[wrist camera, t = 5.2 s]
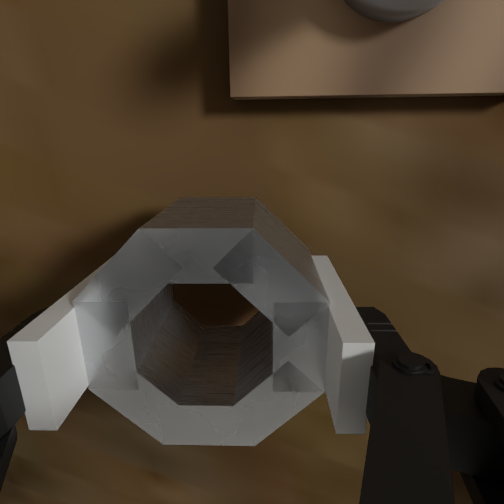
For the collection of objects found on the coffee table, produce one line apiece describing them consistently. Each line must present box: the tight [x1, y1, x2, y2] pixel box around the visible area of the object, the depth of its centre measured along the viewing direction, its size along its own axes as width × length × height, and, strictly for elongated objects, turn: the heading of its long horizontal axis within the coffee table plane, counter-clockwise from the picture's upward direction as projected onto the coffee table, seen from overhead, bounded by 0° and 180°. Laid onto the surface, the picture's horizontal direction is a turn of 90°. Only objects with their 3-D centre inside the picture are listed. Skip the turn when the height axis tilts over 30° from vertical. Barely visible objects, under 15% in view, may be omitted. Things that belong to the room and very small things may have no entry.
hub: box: [73, 197, 330, 446], centre depth 13 cm, size 7×7×5 cm
